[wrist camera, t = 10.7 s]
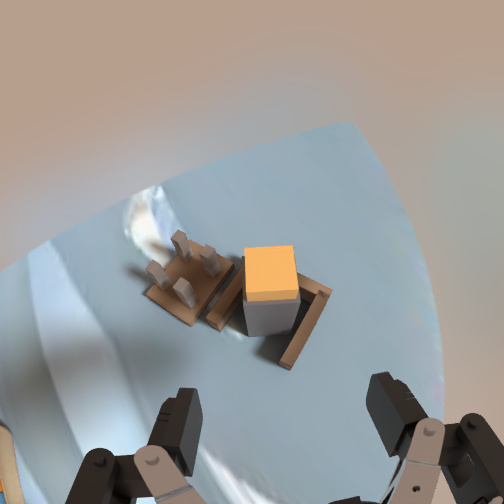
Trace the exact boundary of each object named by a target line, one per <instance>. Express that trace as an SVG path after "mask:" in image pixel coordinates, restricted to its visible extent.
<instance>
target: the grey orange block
mask: <svg viewBox="0 0 504 504" xmlns="http://www.w3.org/2000/svg"><path fill="white" fill-rule="evenodd" d="M242 282H243V308H244V313H245V319H246V324H247V329H248V335H249V337H257V336H274V335H288V334H290V333H291V330H292V327H293V324H294V321H295V318H296V315H297V312H298V309H299V306H300V303H301V301H300V292H299V284H298V277H297V269H296V262H295V255H294V251H293V246H274V247H255V248H245V256H242Z"/></svg>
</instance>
